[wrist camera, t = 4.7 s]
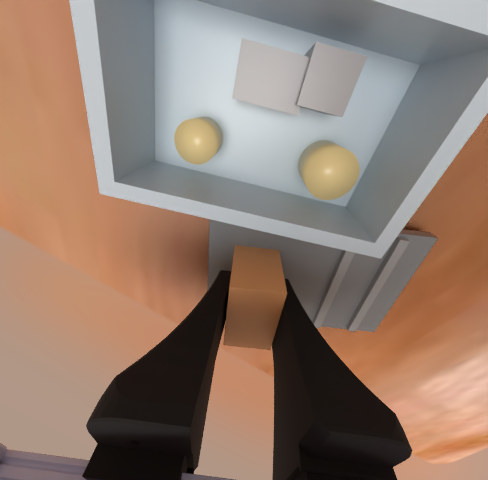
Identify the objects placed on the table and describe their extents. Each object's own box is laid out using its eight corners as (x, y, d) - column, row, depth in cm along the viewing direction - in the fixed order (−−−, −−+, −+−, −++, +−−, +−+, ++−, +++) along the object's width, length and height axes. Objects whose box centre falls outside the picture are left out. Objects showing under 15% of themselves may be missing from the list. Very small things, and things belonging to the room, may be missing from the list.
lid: (429, 232, 11) (500, 281, 8) (370, 324, 15) (401, 382, 12) (211, 206, 11) (194, 246, 8) (208, 307, 15) (195, 361, 12)
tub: (435, 51, 8) (559, 14, 5) (347, 214, 12) (380, 258, 8) (144, -35, 7) (46, -150, 4) (148, 166, 11) (99, 193, 8)
